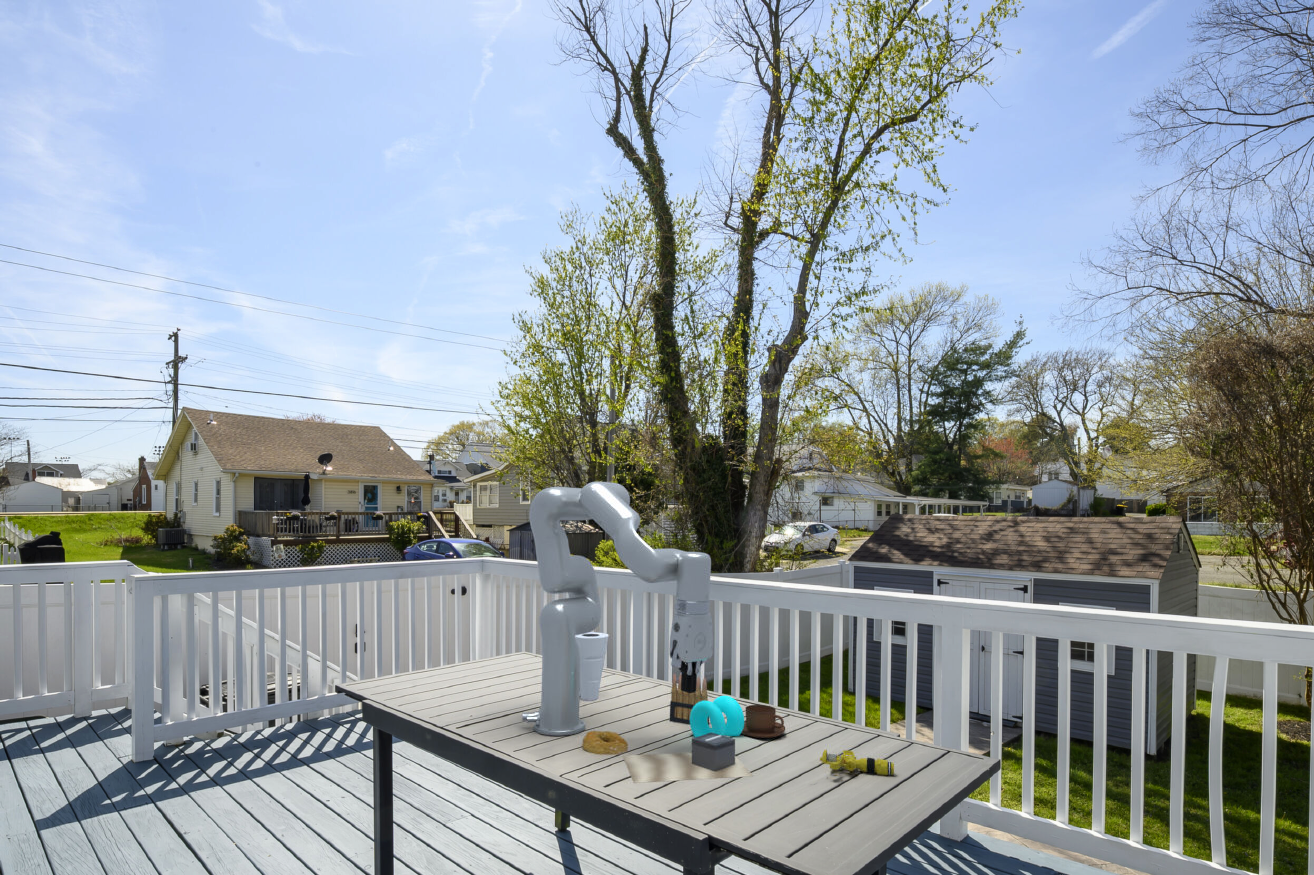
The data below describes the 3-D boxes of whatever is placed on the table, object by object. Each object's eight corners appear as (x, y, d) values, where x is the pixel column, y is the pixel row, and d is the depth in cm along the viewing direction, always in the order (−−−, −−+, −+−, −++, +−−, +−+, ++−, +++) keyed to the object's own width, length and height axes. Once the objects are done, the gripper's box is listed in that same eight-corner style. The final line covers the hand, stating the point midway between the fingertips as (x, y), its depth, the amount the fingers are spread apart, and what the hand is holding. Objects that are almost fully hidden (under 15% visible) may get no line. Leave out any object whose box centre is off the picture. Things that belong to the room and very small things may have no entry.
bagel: (600, 766, 150) (601, 743, 151) (573, 753, 159) (573, 731, 159) (638, 757, 156) (638, 734, 157) (609, 744, 165) (610, 723, 165)
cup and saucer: (787, 729, 178) (787, 704, 179) (782, 744, 167) (782, 716, 167) (740, 725, 181) (740, 700, 182) (732, 739, 170) (732, 712, 171)
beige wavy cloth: (633, 790, 136) (633, 782, 137) (622, 763, 152) (622, 755, 152) (753, 783, 141) (753, 775, 141) (730, 757, 156) (730, 750, 157)
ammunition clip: (709, 725, 180) (709, 677, 182) (706, 727, 179) (706, 678, 180) (672, 719, 186) (673, 672, 187) (669, 721, 184) (669, 673, 186)
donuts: (687, 741, 167) (687, 698, 168) (714, 733, 174) (714, 691, 175) (719, 752, 160) (719, 706, 161) (747, 742, 167) (746, 698, 168)
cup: (566, 696, 209) (567, 633, 211) (600, 692, 213) (601, 631, 216) (577, 704, 199) (579, 639, 201) (613, 701, 204) (614, 636, 206)
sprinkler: (895, 765, 140) (817, 755, 144) (895, 787, 139) (817, 776, 143) (892, 749, 157) (823, 741, 162) (892, 769, 156) (823, 760, 161)
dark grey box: (715, 771, 143) (715, 744, 144) (691, 763, 148) (691, 737, 148) (735, 764, 148) (735, 738, 148) (711, 756, 152) (711, 731, 153)
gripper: (681, 612, 151) (677, 701, 150) (726, 607, 162) (722, 690, 160) (656, 607, 157) (652, 692, 155) (701, 603, 167) (698, 683, 166)
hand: (688, 691), depth 158 cm, fingers closed
